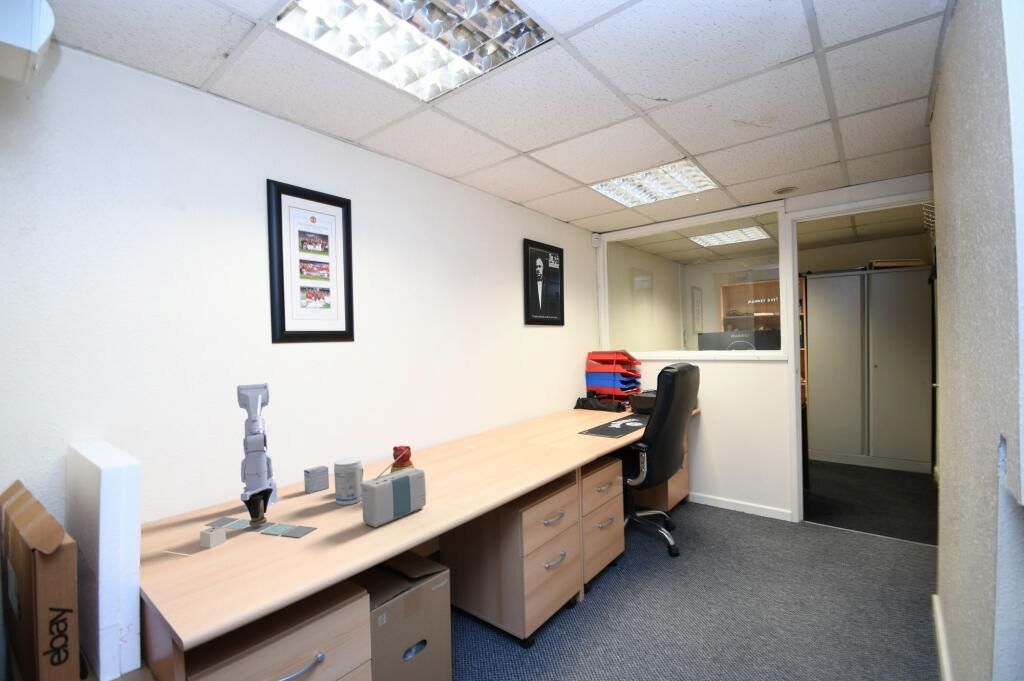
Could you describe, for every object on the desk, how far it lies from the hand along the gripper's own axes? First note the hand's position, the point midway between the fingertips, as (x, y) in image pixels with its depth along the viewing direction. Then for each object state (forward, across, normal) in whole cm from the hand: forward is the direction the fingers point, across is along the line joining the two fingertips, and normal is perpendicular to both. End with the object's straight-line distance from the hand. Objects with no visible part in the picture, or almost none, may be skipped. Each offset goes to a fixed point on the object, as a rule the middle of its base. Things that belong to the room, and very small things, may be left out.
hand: (258, 515), depth 145 cm
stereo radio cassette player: (+4, -5, +42) cm, 42 cm away
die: (+4, +12, -7) cm, 14 cm away
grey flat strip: (+4, 0, 0) cm, 4 cm away
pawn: (+2, 0, 0) cm, 2 cm away
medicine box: (+4, -36, +3) cm, 36 cm away
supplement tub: (+4, -22, +21) cm, 30 cm away
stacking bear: (+4, -28, +39) cm, 48 cm away
